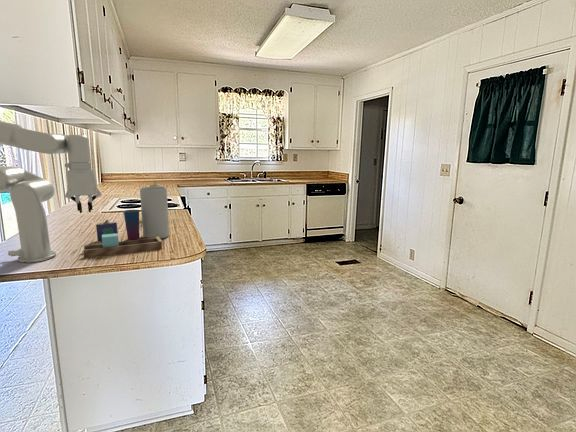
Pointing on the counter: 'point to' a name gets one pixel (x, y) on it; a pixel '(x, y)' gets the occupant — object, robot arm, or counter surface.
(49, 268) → the counter surface
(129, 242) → the chute
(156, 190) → the cylinder vase
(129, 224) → the cup
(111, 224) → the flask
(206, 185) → the counter surface
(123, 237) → the counter surface
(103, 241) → the block
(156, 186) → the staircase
